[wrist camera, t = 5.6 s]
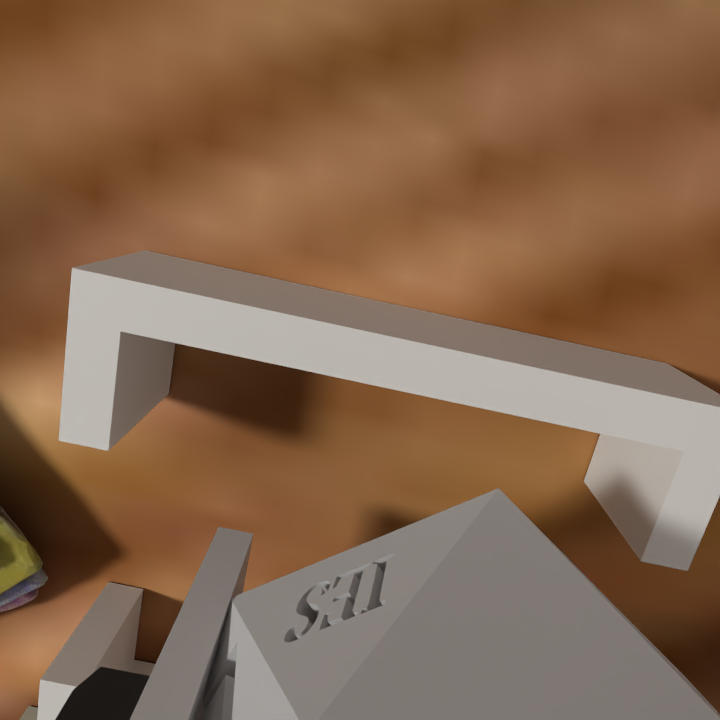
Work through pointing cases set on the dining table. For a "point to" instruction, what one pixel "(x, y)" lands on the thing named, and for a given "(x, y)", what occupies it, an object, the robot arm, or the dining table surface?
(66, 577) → the dining table surface
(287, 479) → the dining table surface
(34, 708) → the mat
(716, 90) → the dining table surface
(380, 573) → the die
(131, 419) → the pocket
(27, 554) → the dish towel
